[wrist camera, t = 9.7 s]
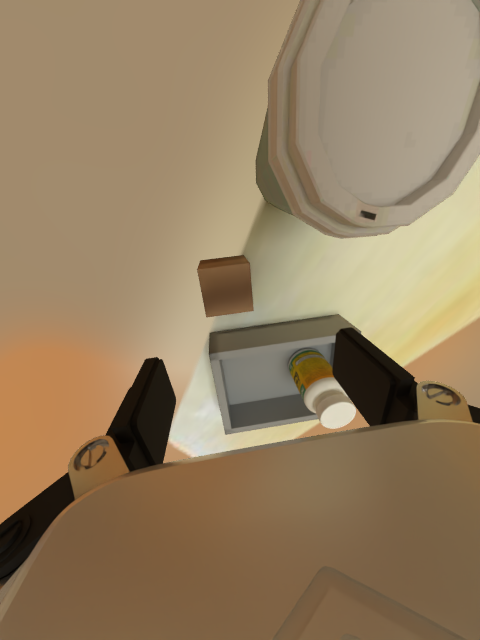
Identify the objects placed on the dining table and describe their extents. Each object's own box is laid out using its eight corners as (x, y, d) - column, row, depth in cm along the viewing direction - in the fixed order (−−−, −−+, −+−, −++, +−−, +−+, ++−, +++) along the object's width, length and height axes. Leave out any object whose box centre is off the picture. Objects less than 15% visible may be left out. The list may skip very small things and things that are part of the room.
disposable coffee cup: (249, 85, 18) (349, -297, 5) (357, 122, 20) (644, -73, 7) (228, 218, 22) (249, 214, 9) (319, 238, 24) (447, 260, 11)
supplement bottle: (326, 367, 32) (366, 421, 23) (294, 381, 33) (321, 439, 24) (316, 341, 30) (357, 390, 21) (282, 356, 30) (308, 410, 22)
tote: (209, 332, 28) (208, 354, 24) (338, 314, 29) (361, 331, 25) (224, 406, 34) (225, 434, 30) (330, 389, 35) (346, 414, 31)
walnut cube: (200, 260, 24) (197, 269, 20) (243, 255, 24) (249, 262, 20) (207, 300, 26) (206, 317, 22) (247, 295, 27) (253, 310, 22)
